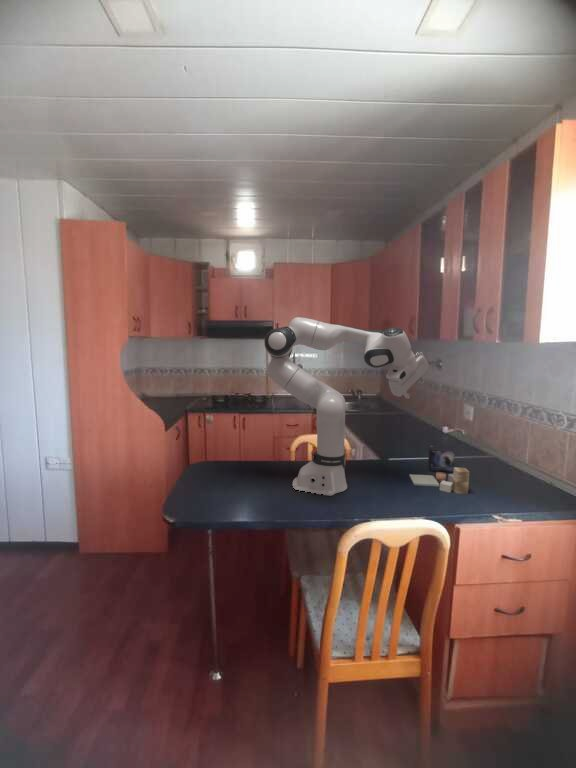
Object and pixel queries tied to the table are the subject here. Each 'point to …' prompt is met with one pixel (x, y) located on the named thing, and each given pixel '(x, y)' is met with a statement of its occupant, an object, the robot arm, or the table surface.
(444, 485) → the off-white plastic block
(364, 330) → the robot arm
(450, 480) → the grey plastic block
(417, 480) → the coaster
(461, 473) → the beech block
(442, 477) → the terracotta puck
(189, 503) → the table surface
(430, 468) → the dark purple camera
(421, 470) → the table surface
